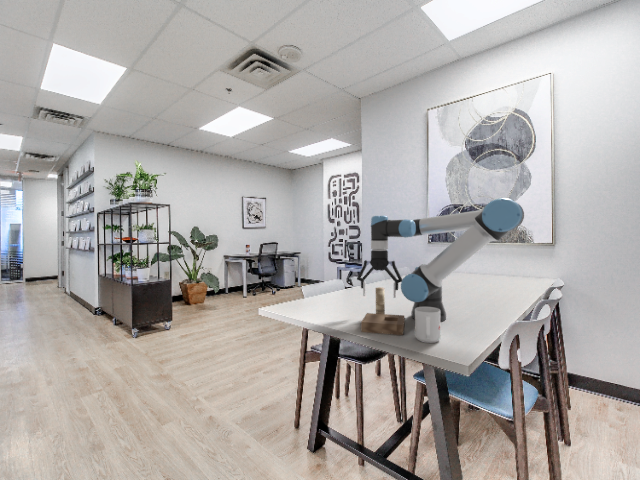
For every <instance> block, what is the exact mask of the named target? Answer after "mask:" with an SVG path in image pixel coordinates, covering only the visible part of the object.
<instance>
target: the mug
mask: <svg viewBox="0 0 640 480" xmlns="http://www.w3.org/2000/svg"><path fill="white" fill-rule="evenodd" d="M441 330H442V329H441V321H440V309H438V308H434V307H417V308H415V319H414V336H415V338H416V339H417V340H418V341H419V342H422V343H425V344H427V343H428V344H434V343H437V342H439V340H440V339H441V336H442V335H441Z"/></svg>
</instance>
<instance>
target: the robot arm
mask: <svg viewBox="0 0 640 480" xmlns="http://www.w3.org/2000/svg"><path fill="white" fill-rule="evenodd" d="M524 219H525V212H524V209H523V207H522V206H521V205H520V203H518V202H517V201H515V200H514V199H511V198H507V197H501V198H500V197H499V198H496V199H493V200H491V201H490V202H488V203H487V204H486V205H485V206H484V207H482V208H481V209H478V210H473V211H465V212H458V213H453V214H452V213H451V214H445V215H438V216H432V217H425V218H417V219H389V217H388V216H387V215H373V216H372V217H371V220H370V223H371V224H370V234H371V236H370V249H371V251H370V260H368V259H364V260H363V266H362V268H361V269H360V271H359V274H358V276H356V277H357V278H356V280H357V281H360V288H361V289H363V290H362V296H363V297H366V295H367V292H366V291H367V281H366V279H367V277H369V275H371V273H372V272H373V271H385V272H386V274H387V275H389V277H391V279H392V280H393V281H394V282H393V299H395V298H396V296H397V292H396V291H398V290H399V283H400V290H401V292H402V293H401V294H402V295H403V297H405V298H406V299H407V300H408V301H410V302H412V303H413V305H412V309H411V314H410V317H411V318H412V319H413V320H415V308H417V307H434V308H438V309H440V322H444V321H445V320H447V312H446V310H445V307H444V304H443V294H442V293H443V280H445V279H446V278H448V276H450V275H451V274H452V273H454V272H455V271H456V270H457V269H459V268H460V267H461V266H462V265H463V264H465V263H466V262H467V261H468V260H470V259H471V258H472V257H474V256H475V254H477V253H478V252H479V251H481V250H482V249H483V248H485V246H488V244H490V243H491V242H498V241H500V240H501V239H502V238H504V237H505V236H506V235H507V234H509V233H510V232H511V231H513V230H515V229H517V228H519V226H521V225H522V223H523V222H524ZM462 231H464V232H463V233H462V234H461V235H460V236H459V237H457V238H456V239H455V240H454V241H453V242H451V243H450V244H449V245H447V247H446V248H445V249H443V251H441V252H440V253H438V254H437V256H435V257H434V258H432V260H431V261H429V262H428V263H427V264H420V265H419V266H416V267H414V271H412V272H411V273H408V274H406V275H405V276H404V277H403V278H402V276H401V274H400V272H399V270H398V268H397V266H396V261H395V260H390V261H389V251H388V249H389V238H412V237H417V236H425V235H435V234H442V233H443V234H444V233H450V232H451V233H452V232H462ZM369 265H370V266H371V267H370V269H369V270H367V272H366V273H365V275H364V276H363V274H364V272H365V270H366V269H367V266H369ZM388 265H390V266H391V267H392V270H394V273H395V275H396V276H395V275H394V274H393V272H392V271H391V270H390V269H389V267H388ZM362 276H363V277H362Z"/></svg>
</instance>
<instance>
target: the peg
mask: <svg viewBox="0 0 640 480" xmlns="http://www.w3.org/2000/svg"><path fill="white" fill-rule="evenodd" d="M385 291H386V290H385V287H380V286H379V287H378V286H377V287H375V314H385V313H386V312H385V311H386V310H385V309H386V308H385V303H386V301H385V299H386V297H385Z"/></svg>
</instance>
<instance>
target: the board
mask: <svg viewBox="0 0 640 480" xmlns="http://www.w3.org/2000/svg"><path fill="white" fill-rule="evenodd" d="M360 324H361V326H360V329H361V330H360V331H361V333H371V334H381V335H383V334H385V335H394V336H395V335H396V336H403V335H404V330H405V315H403V314H400V315H399V314H389V313H387V314H376V313H370V312H366V314H365V315H364V317H363V318H362V320H361V323H360Z"/></svg>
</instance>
